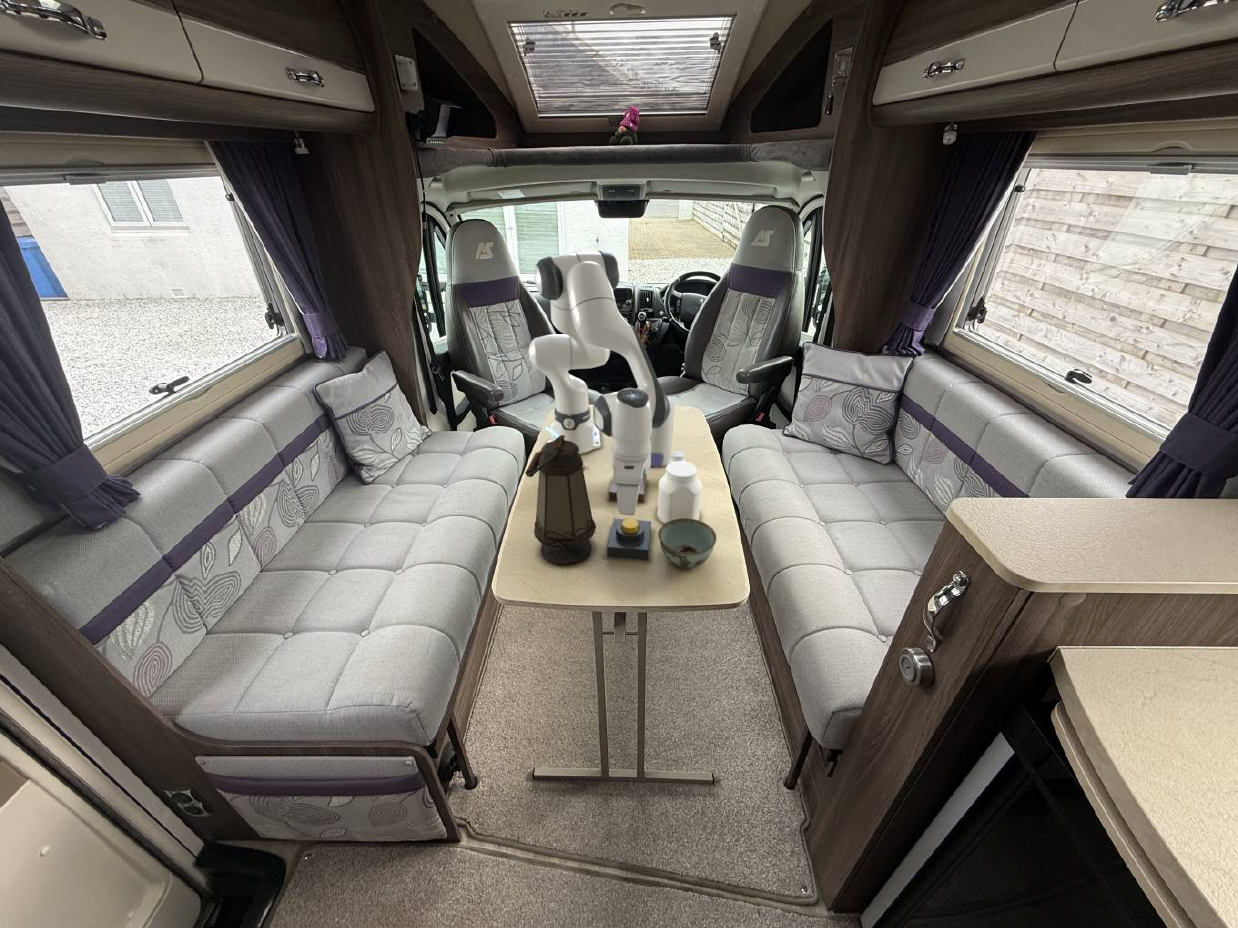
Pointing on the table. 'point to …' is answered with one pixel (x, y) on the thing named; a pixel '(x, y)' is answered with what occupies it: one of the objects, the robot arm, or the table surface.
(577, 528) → the lantern
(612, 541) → the trigger housing
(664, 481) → the jar
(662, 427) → the container
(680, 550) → the bowl
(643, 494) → the dial panel
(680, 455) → the supplement bottle
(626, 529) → the cylinder
